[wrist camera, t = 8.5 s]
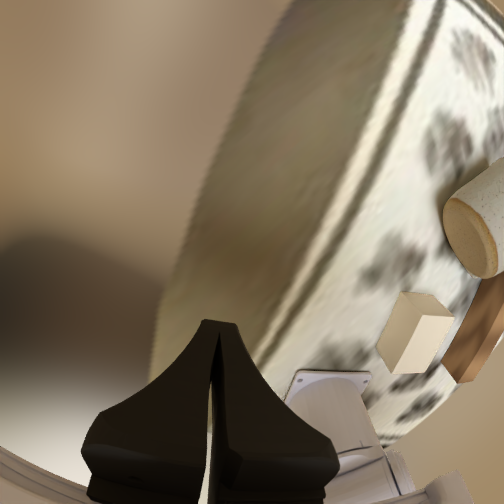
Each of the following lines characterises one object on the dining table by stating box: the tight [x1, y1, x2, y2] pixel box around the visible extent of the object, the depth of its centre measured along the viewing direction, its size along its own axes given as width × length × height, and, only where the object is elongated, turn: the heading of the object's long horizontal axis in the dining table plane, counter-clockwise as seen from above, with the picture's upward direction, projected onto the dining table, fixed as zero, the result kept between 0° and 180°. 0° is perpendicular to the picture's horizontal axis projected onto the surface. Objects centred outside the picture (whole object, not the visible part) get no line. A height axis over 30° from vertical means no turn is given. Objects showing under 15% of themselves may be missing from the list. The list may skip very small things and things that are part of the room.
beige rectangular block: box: [376, 291, 455, 374], centre depth 22 cm, size 6×4×4 cm, turn 169°
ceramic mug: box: [443, 157, 504, 279], centre depth 17 cm, size 11×8×8 cm
